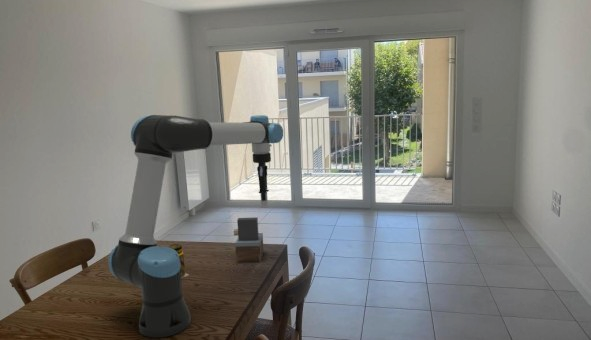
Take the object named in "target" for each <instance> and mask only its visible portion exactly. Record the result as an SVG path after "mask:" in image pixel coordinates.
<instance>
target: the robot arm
mask: <svg viewBox="0 0 591 340" xmlns="http://www.w3.org/2000/svg"><path fill="white" fill-rule="evenodd" d="M283 137H284V129H283V126H282V125H281V124H280V123H275V122H270V121H269V116H268V115H265V114H263V115H261V114H260V115H257V114H256V115H252V116H250V119H249V121H244V122H217V121H216V122H211V121H210V122H209V121H208V120H207V119H204V118H202V119H201V118H193V117H192V118H191V117H186V116H179V115H166V114H165V115H161V114H149V115H144V116H142V117H140V118H139V119H138V120H136V122H134V124H133V125H132V128H131V132H130V139H131V142H132V143H133V145H134V146H135V149H134V155H135V156H136V157H137V165H136V170H135V171H136V172H135V177H134V182H133V183H134V184H133V187H132V188H133V189H132V195H131V198H130V199H131V200H130V204H129V211H128V217H127V223H126V229H125V233H124V235H121V237H119V238H118V244H117V245H115V246H114V248H113V249H112V250H111V251H110V253H109V255H108V259H107V260H108V261H107V263H108V264H107V265H108V269H109V271H110V273H111V274H112V275H113V277H114V278H116V279H118V280H119V281H121V282H124V283H127V284H130V285H132V286H134V287H137V288H139V289H140V290H141V299H142V307H141V310H140V315H139V320H138V327H139V332H140V334H141V335H143V336H145V337H147V338H154V339H156V338H158V339H159V338H167V337H170V336H174V335H176V334H179V333H181V332H183V331H184V330H185V329H186V328H188V327H189V326H190V324H191V319H192V318H191V312H190V310H189V308H188V305H187V302H186V301H185V299H184V295H183V283H182V278H181V263H180V259H179V255H178V253H177V252H176V251H175V250H174V249H172V248H170V247H169V246H164V245H163V246H160V245H158V242H157V240H156V238H155V235H154V234H155V230H156V229H155V228H156V224H157V218H158V212H159V206H160V199H161V193H162V187H163V183H164V182H163V181H164V176H165V171H166V165H167V164H168V163H169V162H170V161H172V158H173V154H174V153H184V152H189V151H197V150H205V149H208V148H210V146H226V145H227V146H228V145H248V144H250V145H251V151H252V152H251V153H252V162H253V163H255V164H258V165H257V167H256V170H257V174H258V175H257V176H258V185H259V191H258V194H259V195H260V207H261V208H262V209H267V208H268V207H269V203H268V202H269V200H268V192H269V190H270V189H268V165H267V163H270V162H271V161H272V158H271V157H272V156H271V155H272V153H271V152H270V151H271V147H272V144H278V143H280V142H281V141H282V140H283Z"/></svg>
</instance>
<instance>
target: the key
mask: <svg viewBox="0 0 591 340" xmlns="http://www.w3.org/2000/svg"><path fill="white" fill-rule="evenodd" d="M233 236H238V228H235V229H233Z"/></svg>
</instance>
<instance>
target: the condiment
mask: <svg viewBox="0 0 591 340" xmlns="http://www.w3.org/2000/svg"><path fill="white" fill-rule="evenodd" d="M168 247H170V248H172V249H174V250H175V251H176V252H177V253H178V255H179V259H180V263H181V279H183V278H186V277H189V276H190V274H188V273H186V269H185V255H184V251H183V246H182V244H178V243H177V244H176V243H175V244H171V245H169V246H168Z"/></svg>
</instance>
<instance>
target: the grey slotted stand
mask: <svg viewBox="0 0 591 340" xmlns="http://www.w3.org/2000/svg"><path fill="white" fill-rule="evenodd" d="M236 221H237V229H238V235H237V236H238V237H237V239H236V241H235V243H234V244H235V248H236V247H238V246H260V243H261V240H262V237H263V238H264V234H263V233H264V232H259V222H258V217H238V218H237V220H236Z"/></svg>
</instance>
